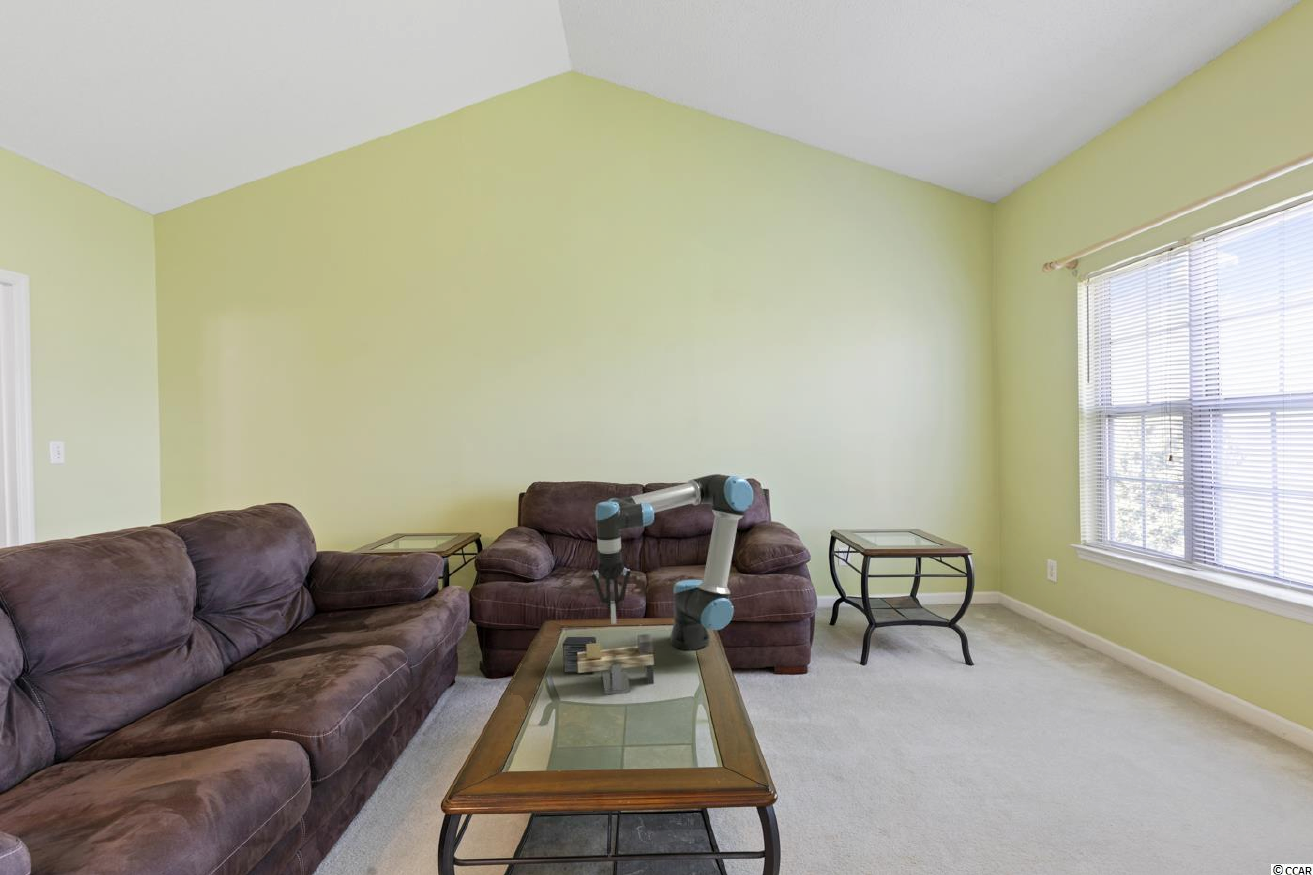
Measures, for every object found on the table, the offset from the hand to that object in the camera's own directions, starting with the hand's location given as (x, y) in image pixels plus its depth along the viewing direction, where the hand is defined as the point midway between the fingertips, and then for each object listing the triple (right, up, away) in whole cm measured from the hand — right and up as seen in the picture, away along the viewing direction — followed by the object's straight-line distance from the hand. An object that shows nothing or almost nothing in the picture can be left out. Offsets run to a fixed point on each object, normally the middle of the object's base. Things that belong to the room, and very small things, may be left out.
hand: (613, 622), depth 177 cm
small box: (-12, -20, +12) cm, 26 cm away
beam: (0, -13, 0) cm, 13 cm away
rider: (-6, -12, -1) cm, 14 cm away
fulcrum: (+5, -20, +1) cm, 21 cm away
